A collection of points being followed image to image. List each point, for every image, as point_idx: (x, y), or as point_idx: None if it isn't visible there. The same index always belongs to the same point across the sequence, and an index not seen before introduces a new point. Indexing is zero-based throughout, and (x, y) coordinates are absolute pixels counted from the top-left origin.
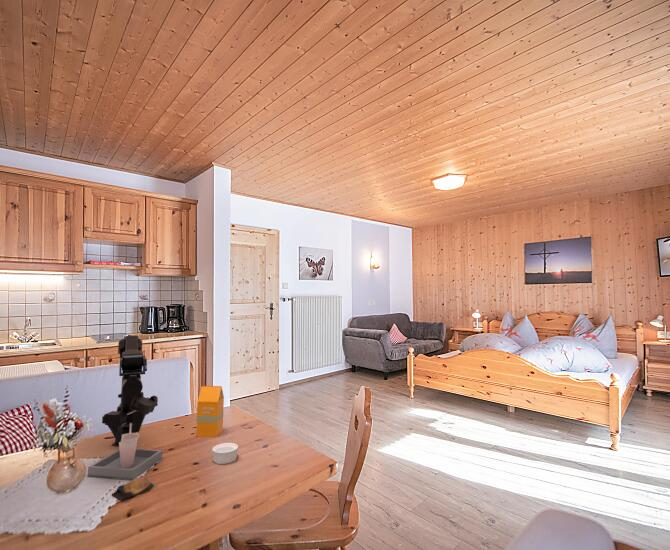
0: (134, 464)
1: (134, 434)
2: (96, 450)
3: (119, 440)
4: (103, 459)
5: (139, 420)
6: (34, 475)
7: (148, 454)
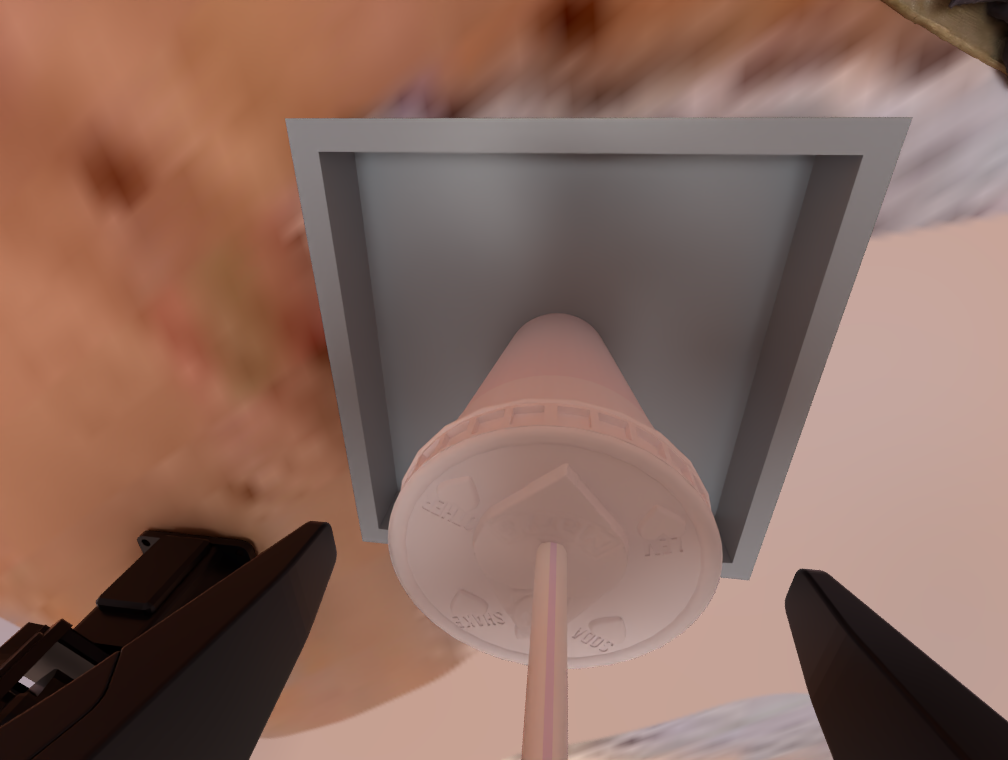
0: (530, 307)
1: (451, 524)
2: (360, 650)
3: (851, 600)
4: None
5: (156, 747)
6: (694, 737)
7: (359, 278)
